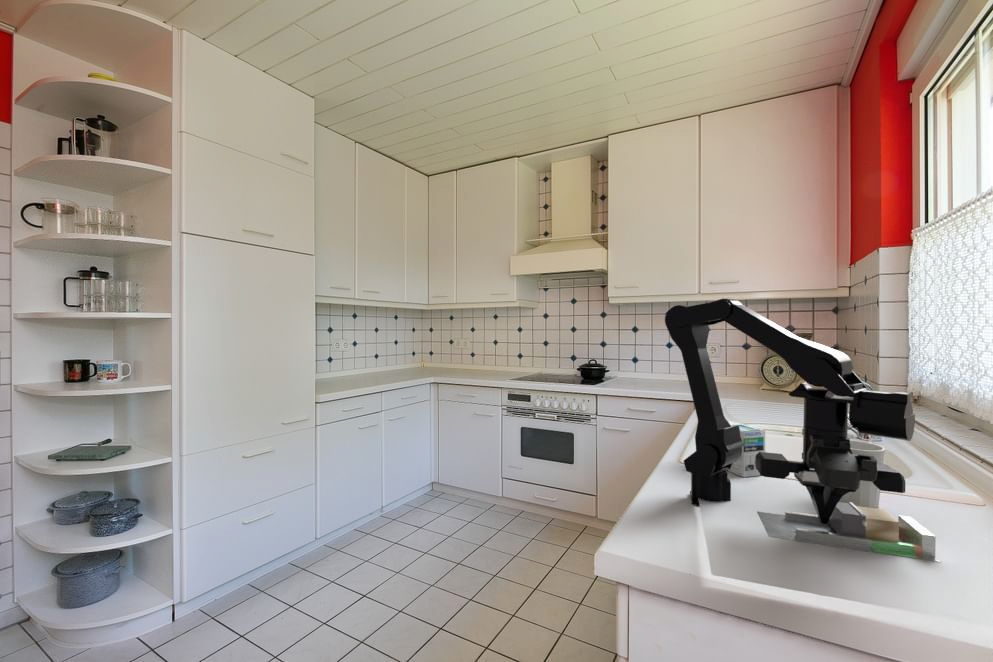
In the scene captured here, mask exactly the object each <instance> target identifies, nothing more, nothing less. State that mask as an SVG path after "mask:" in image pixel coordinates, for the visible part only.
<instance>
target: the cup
mask: <svg viewBox="0 0 993 662" xmlns="http://www.w3.org/2000/svg"><path fill="white" fill-rule="evenodd" d="M850 449H851V451H852V454H853V455H868V456H874V458H875V459H876V461H877V464H884V461H885V454H886V453H885V452H886V448H885V447H884V446H882V445H879V444H875V443H872V442H871V443H870V442H866V441H861V440H851V439H850ZM880 497H881V490H879V489H878V488H877V487H876V486H875V485H874V484H873V482H870V481H862V480H860V486H859V489H857V491H856V492H848V493H847V494H845V495H844V496H842V498H841V499H840V500H839V502H842V503H849V502H852V503H853V504H854V505H855V506H861V507H869V508H877V509H879V507H880V505H879V504H880Z"/></svg>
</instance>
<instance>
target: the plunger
mask: <svg viewBox="0 0 993 662" xmlns="http://www.w3.org/2000/svg"><path fill="white" fill-rule="evenodd" d="M831 526H832V527H833V529H834V530H835V531H836V532H837V534H844V535H851V536H858V537H866V527H867V523H866V516H865V514H864V513H863V512H862V511H861V510H859V509H858V508H857V507H856V506H855V505H854V504H853V503H852V502H849V503H842V502H840V501H839V502H838V503H837V505H836V507H835V509H834V511H833V513H832V515H831Z"/></svg>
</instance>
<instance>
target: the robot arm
mask: <svg viewBox="0 0 993 662" xmlns="http://www.w3.org/2000/svg"><path fill="white" fill-rule="evenodd" d="M723 322H725V323H727V324H728V325H730V326H732V327H733V328H735V329H737V330H738V331H739V332H741V333H743V334H744V335H746V336H748V337H750V339H753V340H754V341H756V342H757V343H759V344H761V345H762V346H764V347H765V348H767V349H768V350H771V351H772V353H773V352H774V353H775V354H777V355H778V356H779V357H780V358H782V359H783V361H784V362H785V363H786V364H787V366H788V367H789V368H790V369H791V370H792V371H793V372H794V373H795V374H797V375H798V376H799V377H800V378H801V379H802V380H803V381H804V382H800V383H799V384H798V386H797V387H796V388H794V389H793V390H791V391H790V392H788V396H790V397H791V398H792V397H793V398H801V399H803V428H801V434H802V437H803V438H802V440H803V441H802V452H801V459H802V461H799V460H798V461H797V460H788V459H787V458H786V457H785V456H784V455H783V454H782V453H777V452H776V453H775V452H766V451H765V452H759V453H758V454H756V457H755V467H756V468H757V470H758V472H759V473H760V475H759V476H762V477H765V478H772V479H781V480H784V479H787V477H788V476H790V473H791V474H792V473H793V476H794V477H795V479H796V480H797V481H798V482H799V484H800V485H801V486H804V487H806V490H807V492H808V494H809V497H810V499H811V501H812V504H813V507H814V509H815V513H816V515H818V517H819V520H820V522H821V523H822V524H827V523H828V521H829V519H830V517H831V515H832V513H833V511H834V509H835V507H836V505H837V503H838V502H840V501H839V500H840V499H841V498H842V496H844V495H845V494H847V493H848V492H856V491H857V489H859V486H860V480H862V481H870V482H873V484H874V485H875V486H876V487H877V488H878V489H879V490H880V492H881V491H883V492H890V493H891V492H892V493H898V494H899V493H900V494H904V493H906V479H905V476H904V475H903V474H902V473H901V472H899V471H897V470H896V469H894V468H893V467H891V466H890V465H888V464H885V463H883V464H877V461H876V459H875V458H874V456H868V455H853V454H852V451H851V449H850V440H851V439H850V438H848V431H849V430H848V429H849V428H848V427H849V426H848V423H850V426H852V428H853V429H856V430H857V432H858V433H859V434H863V435H869V436H876V437H884V438H889V439H897V440H900V441H901V440H902V441H907V442H911V441H912V438H913V435H914V431H915V425H916V423H915V421H916V414H915V413H914V409H913V405H912V401H911V394H910V393H909V392H903V391H894V392H887V391H878V390H870V389H869V388H868V386H867V385H866V384H865V383H864V382H863V381H862V380H861V378H860V377H859V376H858V375H857V374H856V373H855V372H854V371H853V370H854V369H853V368H854V367H853V363H852V359H851V358H850V357H849V355H847V354H845V352H843V351H840V350H837V349H834V348H833V347H832V348H831V347H830V346H826V345H825V344H821V343H818V342H815V341H811V340H808V339H806V338H802V337H801V336H800V337H799V336H798V335H796V334H794V333H792V332H791V331H789V330H788V329H785V328H784V327H782V326H780V325H778V324H777V323H775V322H773V320H772V321H771V320H770V319H768V318H766V317H765V316H763V315H761V314H759V313H758V312H756V311H754V310H753V309H751V308H749V307H747V306H745V304H744V305H743V303H741V302H740V300H738V299H734V298H720V299H717V300H714V301H711V302H706V303H700V304H695V305H685V304H684V305H682V304H680V305H679V304H678V305H674V306H672V307H670V308H669V309H668V311H667V313H666V314H665V316H664V323H665V327H666V329H667V331H668V332H667V333H669V337H670V339H671V340H672V342H673V343H674V344H675V345H676V346H677V348H679V350H680V352H681V356H682V361H683V364H684V369H685V373H686V377H687V380H688V381H687V382H688V385H689V389H690V394H691V397H692V401H693V405H694V409H695V410H694V411H695V414H696V417H697V418H696V419H697V424H696V429H695V435H694V439H695V442H694V443H695V451H693V453H691V454H690V455H689V456H688V457H686V458H685V459H684V460H683V465H684V468H685V471H686V472H688V473H690V491H689V496H690V503H691V505H693V506H700V500H702V501H706V502H713V503H714V502H716V503H717V502H731V501H732V498H731V497H732V483H731V479H730V478H728V473H727V472H728V471H727V470H728V469H731V467H732V465H733V463H734V462H736V461H737V460H738V459H739V458H740V457H741V455H742V447H743V446H745V444H744V443H743V442H742V439H741V437H740V429H739V426H738V425H734V426H731V425H730V424H729V423H728V421H729V420H727V419H726V416H725V415H724V411H723V407H722V403H721V399H720V394H719V392H718V388H717V383H716V380H715V379H716V378H715V375H714V372H713V369H712V364H711V360H710V356H709V353H708V349H707V348H708V347H707V344H708V338H709V334H710V326H712V325H716V324H720V323H723ZM811 386H814V387H815V388H814V387H811ZM699 499H700V500H699Z"/></svg>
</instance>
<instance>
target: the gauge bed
mask: <svg viewBox="0 0 993 662" xmlns="http://www.w3.org/2000/svg"><path fill="white" fill-rule="evenodd" d="M757 515H758V516H759V519H760V521H761V522H762V525H763V526H764V529H765V531H766V532H767V534H768V537H769V538H774V539H775V538H776V539H783V540H790V541H796V542H803V543H809V544H814V545H815V544H816V545H821V546H829V547H836V548H843V549H849V550H855V551H861V552H868V553H869V552H870V553H876V554H881V555H889V556H896V557H902V558H909V559H914V560H922V561H928V562H936V563H942V561H941V560H940V559H939V558H937V557H936V556H935V557H932V556H925V555H923V547H922V546H921V545H915V544H909V543H908V542H907V541H906V540H905V539H904V538H902V537H901V536H900V527H899V542H894V541H887V540H880V539H873V538H866V537H858V536H851V535H844V534H837V532H836V531H835V530H834V529H833V527H832V526H831V517H830V519H829V521H828V523H827V524H822V523H821V522H820V520H819V517H818V515H817V514H812V513H806V512H805V513H804V512H795V511H789V510H784V514H778V513H770V512H764V511H757Z"/></svg>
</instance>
